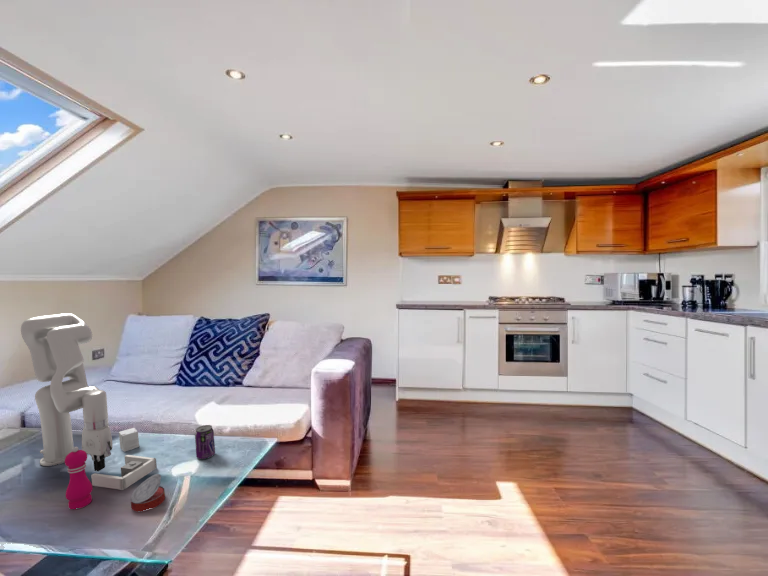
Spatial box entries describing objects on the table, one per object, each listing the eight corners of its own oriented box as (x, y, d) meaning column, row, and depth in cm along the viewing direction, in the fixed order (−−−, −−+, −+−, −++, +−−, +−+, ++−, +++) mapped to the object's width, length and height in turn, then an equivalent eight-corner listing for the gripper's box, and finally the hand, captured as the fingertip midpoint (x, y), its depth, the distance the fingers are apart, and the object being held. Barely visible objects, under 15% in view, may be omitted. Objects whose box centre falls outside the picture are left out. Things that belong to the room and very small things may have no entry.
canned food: (161, 518, 133) (157, 501, 128) (127, 520, 130) (122, 503, 125) (171, 486, 142) (168, 469, 137) (139, 487, 140) (135, 470, 135)
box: (92, 485, 145) (91, 475, 145) (127, 464, 160) (127, 454, 159) (123, 490, 142) (122, 479, 141) (156, 468, 156) (156, 458, 156)
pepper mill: (76, 498, 137) (71, 442, 136) (98, 496, 138) (93, 441, 136) (61, 511, 130) (55, 452, 129) (84, 509, 131) (79, 451, 129)
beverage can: (208, 461, 160) (206, 432, 159) (192, 459, 162) (190, 431, 161) (218, 452, 167) (217, 424, 166) (203, 451, 169) (201, 424, 168)
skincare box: (135, 442, 178) (134, 427, 178) (139, 447, 174) (138, 430, 174) (119, 447, 174) (118, 431, 173) (123, 452, 170) (121, 435, 169)
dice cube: (132, 482, 147) (131, 469, 146) (121, 480, 148) (120, 467, 148) (143, 474, 152) (142, 462, 151) (133, 473, 153) (132, 460, 152)
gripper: (71, 425, 150) (75, 472, 151) (102, 429, 146) (106, 477, 148) (90, 417, 157) (93, 461, 159) (120, 421, 153) (124, 466, 155)
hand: (99, 469), depth 153 cm, fingers closed
